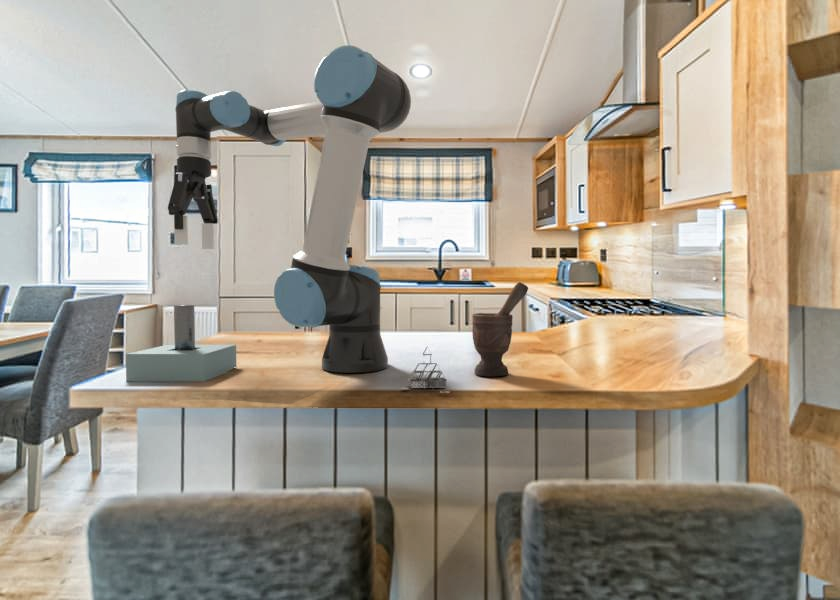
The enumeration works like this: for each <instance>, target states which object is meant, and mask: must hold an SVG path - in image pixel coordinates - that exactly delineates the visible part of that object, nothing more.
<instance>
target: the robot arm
mask: <svg viewBox="0 0 840 600" xmlns="http://www.w3.org/2000/svg"><path fill="white" fill-rule="evenodd" d="M313 89H314V92H315V95H316V97H317V99H318V100H319V101H312V102H307V103H301V104H296V105H289V106H283V107H277V108H272V109H266V110H265V109H261V108H259V107H256V106H253V105H251V104H249V102H248V101H247V99H246V98H245V97H244V96H243V95H242V93H240V92H238V91H235V90H229V91H220V92H217V93H215V94H212V95H208V94H206V93H205V92H202V91H198V90H194V89H188V90H187V89H183V90H181V91H179V92H178V93H177V95H176V100H175V101H176V103H175V104H176V105H175V109H174V110H175V123H176V126H175V128H176V145H175V149H176V155H177V157H178V158H177V159H176V172H175V173H174V182H173V186H172V191H171V194H170V197H169V201H168V206H167V210H168V215H169V216H173V227H174V228H173V230H174V231H173V235H174V236H173V237H174V238H173V239H174V242H173V243H174V245H188V244H189V242H188V241H189V240H188V238H189V237H188V236H189V235H188V234H189V233H188V215H186V213H187V211H188V209H189V206H190V204H191V202H192V200H193V201H194V202H196V205H197V208H198V211H199V212H200V216H201V218H202V221H203V223H201V249H202V250H214V249H215V241H214V240H215V237H214V232H215V231H214V227H215V226H214V225H215V224H216V225H217V224H218V221H219V220H218V214H217V210H216V205H215V200H214V195H213V186H212V184H210V183H209V184H208V183H206V178H209V177H211V176H212V162H211V161H210V160H211V159H212V143H211V141H212V140H211V139H212V138H211V135H212V134H211V133H214V132H217V131H223V130H224V131H227V132H230V133H233V134H236V135H238V136H242V137H245V138H248V139H251V140H254V141H256V142H258V143H259V142H260V143H262V144H264V145H268V146H273V147H280V146H282V145H283V144H284V143H285V142H286V141H287V140H296V139H302V138H311V137H318V136H324V138H323V145H322V149H321V153H320V159H319V164H318V170H317V173H316V179H315V185H314V189H313V195H312V200H311V204H310V209H309V215H308V220H307V225H306V229H305V230H306V231H305V234H304V239H303V245H302V249H301V250H300V251H298V252H297V253H295V254H294V255H292V261H291V265H290V268H287V269H285V270H283V272H281V274H279V275H278V277H277V278H276V280H275V283H274V287H273V296H274V302H275V306H276V308H277V310H279V311H278V312H279V314H280V316H281V317H282V318H283V319H284V321H286V322H287V323H289V324H290V325H292V326H294V327H298V328H312V329H313V328H317V327H322V326H329V334H328V335H329V336H328V339H327V342H326V345H325V349H324V351H323V354H322V358H321V369H322V370H324V371H327V372H334V373H345V374H346V373H369V372H371V373H372V372H378V371H382V370H385V369H387V368H388V367H389V366H388V365H389V364H388V363H389V361H388V360H389V359H388V358H389V357H388V355H387V350H386V348H385V345H384V343H383V338H382V336H381V289H382V286H381V280H380V279H381V278H380V273H379V272H378V270H377V269H375V268H372V267H369V266H362V265H355V264H348V262H347V260H346V253H347V249H348V245H349V244H348V243H349V239H350V235H351V230H352V225H353V220H354V216H355V210H356V208H357V207H356V206H357V201H358V197H359V192H360V187H361V181H362V179H363V173H364V168H365V164H366V159H367V154H368V150H369V145H370V142H371V140H373V138H375V137H377V136H378V135H379V134H382V133H387V132H391V131H394V130H395V129H398V127H400V126H402V125H403V123H404V122H405V121H406V120H407V118H408V115H409V114H410V110H411V105H412V104H411V103H412V99H411V93H410V89H409V86H408V84H407V83H406V82H405V80H404V79H403V78H402V77H401V76H400V75H399V74H398V73H396V72H395V71H393V70H391V69H390V68H389V67H387V66H385V65H384V64H383V63H381V61H379V59H378V60H377V59H376V58H375V57H374V56H373V55H372V53H370V52H367V51H364V50H363V49H362V48H359V47H357V46H355V45H350V44H349V45H347V44H346V45H341V46H338V47H337V48H334V49H332V50H331V51H330V52H329V53H328V54H327V55H325V56H324V57H323V58H322V60H321V61H320V62H319V64H318V66H317V68H316V71H315V74H314V79H313Z"/></svg>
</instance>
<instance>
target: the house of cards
mask: <svg viewBox="0 0 840 600" xmlns="http://www.w3.org/2000/svg"><path fill="white" fill-rule="evenodd" d="M427 349H428V346H426V347H425V349H424V351H423V353H422V356H430V358H429V359H430V360H429V361H430V362H429V363H428V362H421V363H419V362H418V363H417V365H416V367H415V369H414V370H413V371H412V372H411V374H410V375H409V377H408V378H407V379H408V387H401V390H405V391H407V390H409V388H410V389H425V390H426V389H427V388H428V389H429V388H430V389H431V388H432V389H435V388H437V389H438V388H447V382H448V379H447V378H446V377H445V375H444V373H443V371H442V370H441V369H440V367H438V368H439V369H440V370H439V369H438V370H435V369H436V367H437V366H438V363H437V362H432V356H433V354H432V353H431V351H430V349H428V350H429V352H430V353H425V352H426V351H427ZM420 365H425V366H424V368H423V370H422V369H421V370H417V369H418V367H419V366H420ZM429 365H434V366H433V368H432V369H431V370H426V368H427V367H428V366H429ZM416 374H419V375H418V376H417V375H416ZM433 374H437V375H436V376H434V377H432V376H433ZM414 375H415V376H416V377H414ZM423 375H424V377H423ZM441 376H442V377H441ZM450 392H451V391H448V390H446V391H445V390H440V391H439V393H445V394H449V393H450Z"/></svg>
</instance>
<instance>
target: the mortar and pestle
mask: <svg viewBox="0 0 840 600" xmlns="http://www.w3.org/2000/svg"><path fill="white" fill-rule="evenodd" d="M528 291H529V287H528V286H527V285H526V284H525V283H523V282H521V281H519V282H517V283H516V284H515V285H514V287H513V288H512V289H511V291H510V293H509V295H508V297H507V299H506V300H505V302H504V304H503V306H502V307H501V309H500V310H499V311H498V312H497V313H496V312H493V313H492V312H489V313H488V312H477V313H473V314H472V316H471V317H472V321H471V322H472V323H471V324H472V328H471V329H472V332H471V333H472V340H473V345H474V349H475V351H476V352H477V353H478V354H479V356H480V360H479V363H477V365H476V366H475V368H474V372H473V373H474V375H477V376H480V377H489V378H490V377H491V378H493V377H502V376H509V369H508V366H506V364H504V362H503V360H502V359H503V355H504V354H506V353H507V352H508V351H509V348H510V345H511V341H512V336H513V335H512V334H513V329H512V328H513V315H512V314H511V313H512V311H513V310H514V309H515V307H516V306H517V305H518V304H519V303H520V302H521V300H523V298H524V297H525V296H526V295H527V293H528Z"/></svg>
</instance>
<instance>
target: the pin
mask: <svg viewBox="0 0 840 600" xmlns="http://www.w3.org/2000/svg"><path fill="white" fill-rule="evenodd" d="M195 317H196V316H195V305H194V304H176V305H173V327H174V328H173V332H174V334H173V335H174V345H175V351H191V350H195V345H196V331H195V329H196V324H195V321H196V319H195Z"/></svg>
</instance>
